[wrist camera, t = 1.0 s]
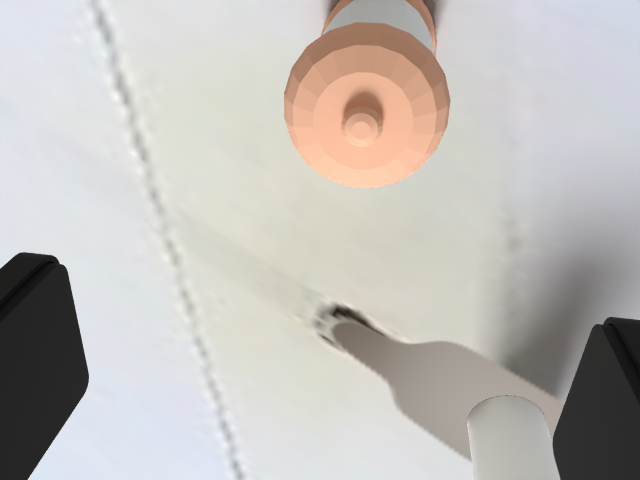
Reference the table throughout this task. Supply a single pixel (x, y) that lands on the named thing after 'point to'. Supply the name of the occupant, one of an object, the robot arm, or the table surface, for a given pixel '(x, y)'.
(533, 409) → the cylindrical container
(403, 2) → the pepper shaker
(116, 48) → the table surface
